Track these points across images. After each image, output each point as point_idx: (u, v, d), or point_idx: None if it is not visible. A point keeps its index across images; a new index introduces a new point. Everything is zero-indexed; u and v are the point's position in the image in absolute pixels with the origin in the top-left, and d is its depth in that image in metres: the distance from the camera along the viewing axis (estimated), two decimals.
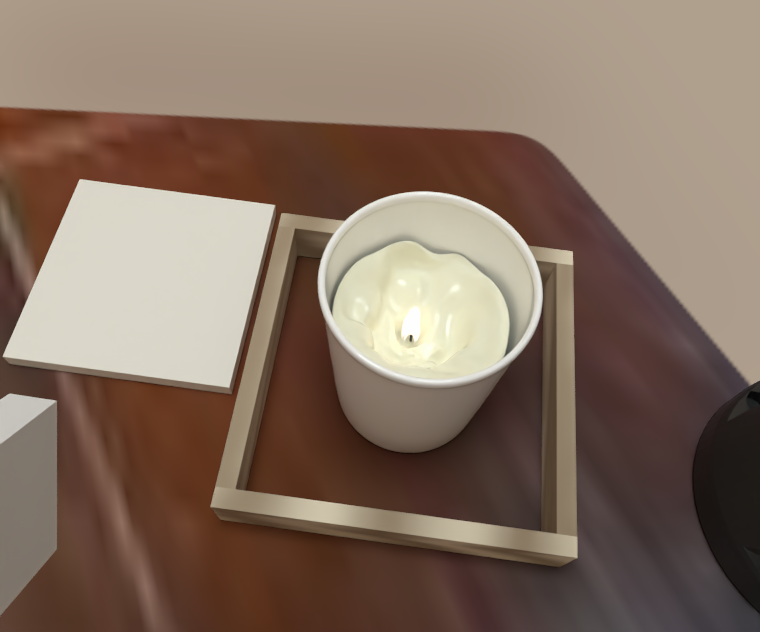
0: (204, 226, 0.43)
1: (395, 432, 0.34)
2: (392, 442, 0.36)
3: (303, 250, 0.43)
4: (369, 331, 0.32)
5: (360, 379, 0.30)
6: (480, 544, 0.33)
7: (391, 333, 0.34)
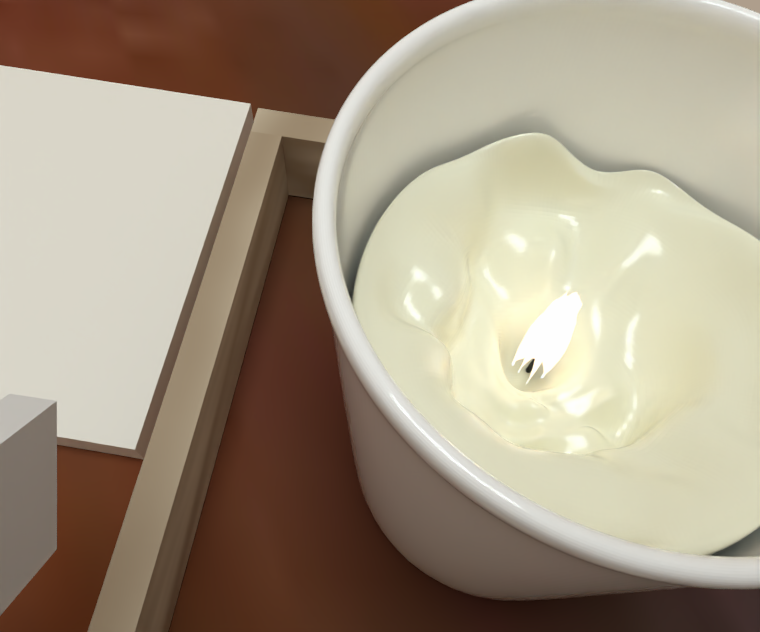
0: (119, 136, 0.24)
1: (494, 590, 0.14)
2: (476, 592, 0.16)
3: (299, 184, 0.23)
4: (446, 352, 0.13)
5: (433, 505, 0.10)
6: None
7: (491, 355, 0.14)
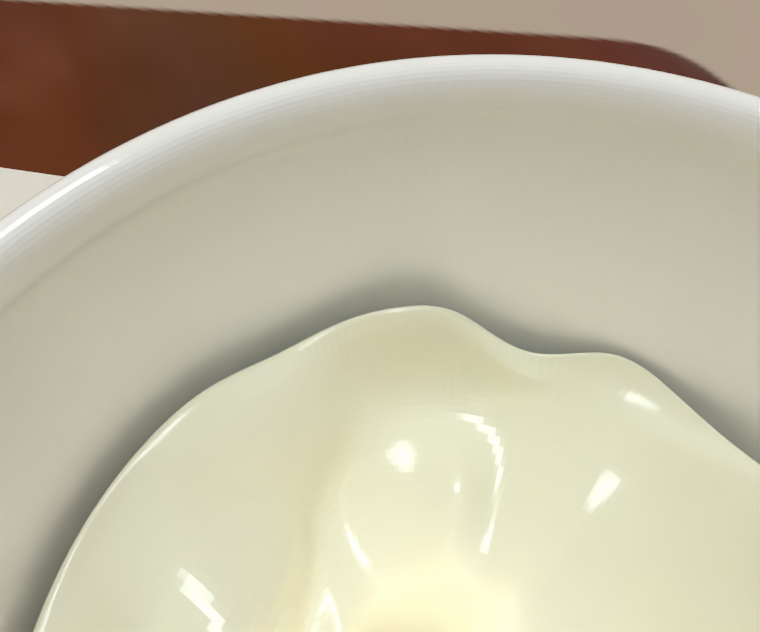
0: None
1: None
2: None
3: None
4: None
5: None
6: None
7: None
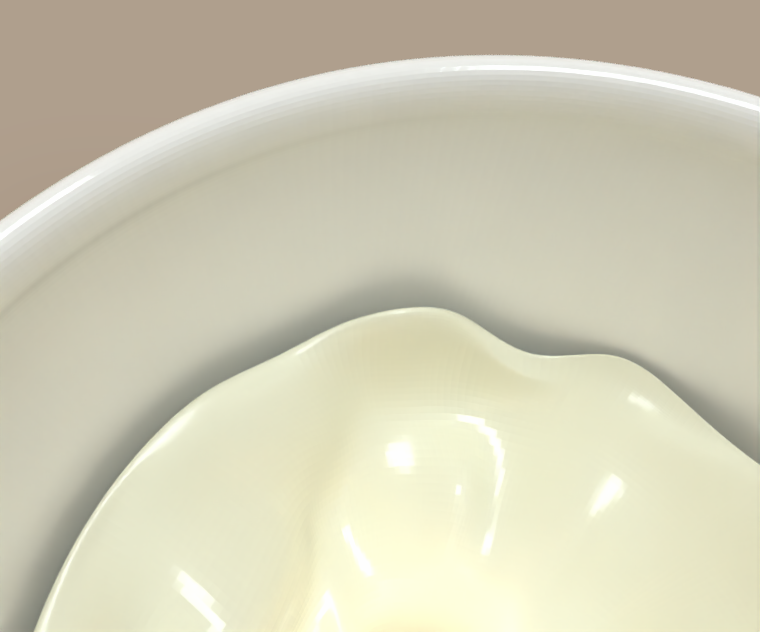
0: None
1: None
2: None
3: None
4: None
5: None
6: None
7: None
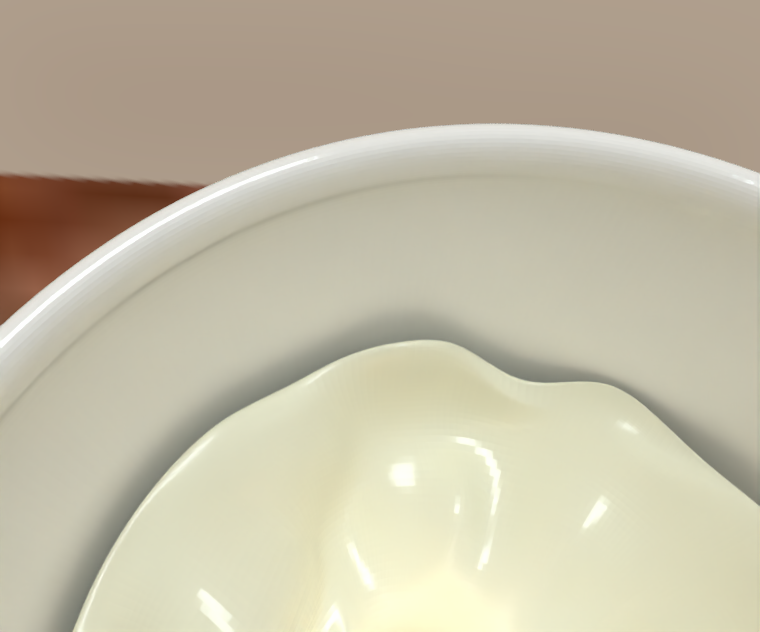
0: None
1: None
2: None
3: None
4: None
5: None
6: None
7: None
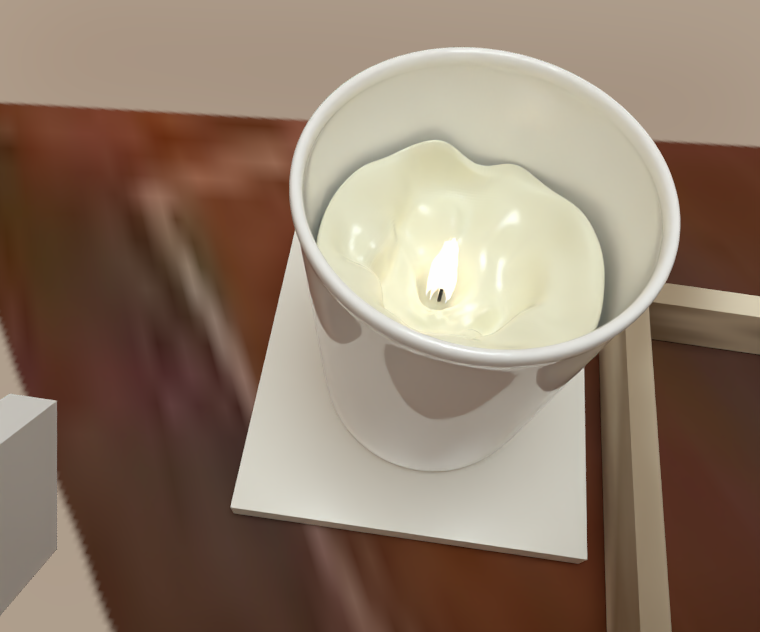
0: None
1: (415, 442, 0.22)
2: (409, 456, 0.23)
3: None
4: (376, 279, 0.20)
5: (362, 353, 0.17)
6: None
7: (410, 286, 0.22)
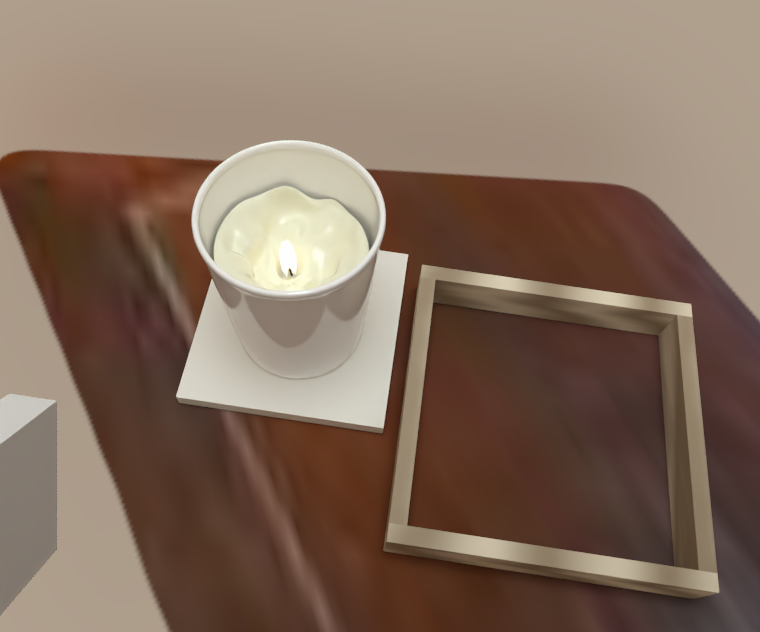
0: None
1: (274, 353, 0.39)
2: (277, 365, 0.41)
3: (437, 297, 0.47)
4: (248, 262, 0.37)
5: (229, 297, 0.35)
6: (630, 579, 0.36)
7: (271, 266, 0.39)
